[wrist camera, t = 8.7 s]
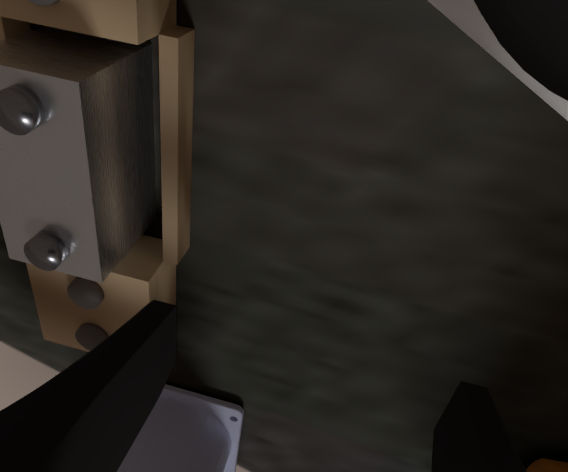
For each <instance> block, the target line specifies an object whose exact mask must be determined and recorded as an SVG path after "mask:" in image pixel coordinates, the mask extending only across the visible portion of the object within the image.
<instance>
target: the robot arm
mask: <svg viewBox="0 0 568 472" xmlns="http://www.w3.org/2000/svg"><path fill="white" fill-rule="evenodd" d="M176 336H177V306H176V305H173V304H169V303H165V302H161V301H158V300H153V301H151V302H149V303H148V304H147V305H146V306H145V307H143V308H142V309H141V310H140V311H139V312H138V313H136V314H135V315H134V316H133V317H132V318H131V319H129V320H128V321H127V322H126V323H125V324H123V325H122V326H121V327H120V328H119V329H117V330H116V331H115V332H114V333H112V334H111V335H110V336H109V337H107V338H106V339H105V340H104V341H102V342H101V343H100V344H98V345H97V346H96V347H95V348H93V349H92V350H91V351H89V352H88V353H87V354H86V355H84V356H83V357H82V358H80V359H79V360H78V361H76V362H75V363H73V364H72V365H70V366H69V367H68V368H66V369H65V370H63V371H62V372H61V373H59V374H58V375H56V376H55V377H53V378H52V379H51V380H49V381H48V382H46V383H45V384H43V385H42V386H40V387H39V388H37V389H36V390H34V391H33V392H31V393H29V394H28V395H26V396H24V397H23V398H21V399H20V400H18V401H16V402H15V403H13V404H11V405H10V406H8V407H6V408H5V409H3V410H1V411H0V472H235V471H236V464H237V457H238V450H239V443H240V436H241V428H242V421H243V414H244V410H243V408H242V407H241V406H239V405H237V404H233V403H230V402H226V401H223V400H219V399H216V398H212V397H209V396H205V395H202V394H198V393H195V392H191V391H188V390H184V389H181V388H177V387H174V386H170V385H167V384H166V382H167V379H168V377H169V375H170V372H171V370H172V368H173V365H174V363H175V360H176ZM432 472H527V471H526V469H525V467H524V465H523V463H522V461H521V459H520V457H519V455H518V453H517V451H516V449H515V447H514V445H513V443H512V441H511V439H510V436H509V434H508V432H507V430H506V428H505V426H504V424H503V421H502V419H501V417H500V415H499V412H498V410H497V408H496V406H495V404H494V401H493V399H492V397H491V395H490V392H489V391H488V389H487V388H485V387H481V386H477V385H473V384H470V383H466V382H462V381H461V382H460V384H459V386H458V388H457V389H456V391H455V393H454V395H453V397H452V398H451V400H450V402H449V404H448V406H447V407H446V409H445V411H444V413H443V414H442V416H441V418H440V420H439V422H438V423H437V425H436V427H435V429H434V437H433V452H432Z"/></svg>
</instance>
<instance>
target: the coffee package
mask: <svg viewBox="0 0 568 472" xmlns="http://www.w3.org/2000/svg"><path fill="white" fill-rule="evenodd" d="M526 471H527V472H568V462H561V461H555V460H550V459H546V458H541V459H538V460H536V461H534V462H533V463H532V464H531V465H530V466H529V467H528V468H527V469H526Z"/></svg>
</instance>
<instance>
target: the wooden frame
mask: <svg viewBox="0 0 568 472" xmlns="http://www.w3.org/2000/svg"><path fill="white" fill-rule="evenodd" d="M30 23H35V24H40V25H44V26H49V27H54V28H59V29H63V30H68V31H73V32H78V33H83V34H87V35H92V36H97V37H102V38H107V39H111V40H116V41H121V42H126V43H130V44H135V45H139V44H141V43H143V42H145V41H147V40H149V39H151V38H153V37H155V36H157V35H159V76H160V128H161V181H162V233H163V240H162V239H158V238H154V237H151V236H147V235H142V236H141V237H140V238H139V239H138V241H137V242H136V243H135V244H134V245H133V247H132V248H131V249H130V250H129V251H128V253H127V254H126V255H125V256H124V257H123V259H122V260H121V261H120V262H119V263H118V265H117V266H116V267H115V268H114V270H113V271H112V272H111V273H110V274H109V276H108V277H107V278H106V279H105V280H104V282H103V283H99V282H96V281H92V280H88V279H85V278H81V277H77V276H73V275H70V274H66V273H62V272H58V271H55V270H53V271H44V270H41V269H39V268H37V267H36V266H34V265H32V264H28V263H26V265H27V269H28V274H29V278H30V282H31V286H32V291H33V295H34V299H35V303H36V308H37V312H38V316H39V320H40V324H41V329H42V333H43V337H44V339H45V340H48V341H52V342H55V343H59V344H62V345H66V346H69V347H73V348H77V349H80V350H84V351H87V352H89V351H91V350H92V349H93V348H95V347H96V346H97V345H98V344H100V343H101V342H102V341H104V340H105V339H106V338H107V337H109V336H110V335H111V334H112V333H114V332H115V331H116V330H117V329H119V328H120V327H121V326H122V325H123V324H125V323H126V322H127V321H128V320H129V319H131V318H132V317H133V316H134V315H135V314H136V313H138V312H139V311H140V310H141V309H142V308H143V307H145V306H146V305H147V304H148V303H149V302H151V301H153V300H158V301H161V302H165V303H169V304H173V305H176V265H178V264H179V262H180V260H181V259H182V257H183V256H184V254H185V253H186V251H187V250H188V248H189V247H190V215H191V171H192V126H193V82H194V38H195V29H192V28H187V27H182V26H177V25H176V0H0V41H2V40H5V39H8V38H11V37H14V36H17V35H20V34H23V33H26V32H29V31H32V30H31V24H30Z"/></svg>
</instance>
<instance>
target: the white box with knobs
mask: <svg viewBox="0 0 568 472" xmlns="http://www.w3.org/2000/svg"><path fill="white" fill-rule="evenodd" d="M155 219H156V188H155V150H154V113H153V75H152V43H147V42H143V43H141V44H139V45H135V44H130V43H126V42H121V41H116V40H111V39H107V38H102V37H97V36H92V35H87V34H83V33H78V32H73V31H68V30H63V29H59V28H54V27H49V26H44V27H41V28H38V29H35V30H32V31H29V32H26V33H23V34H20V35H17V36H14V37H11V38H8V39H5V40H2V41H0V223H1V227H2V231H3V235H4V239H5V242H6V246H7V250H8V254H9V258H10V259H14V260H17V261H21V262H25V263H28V264H32V265H34V266H36V267H37V268H39V269H41V270H44V271H53V270H55V271H58V272H62V273H66V274H70V275H73V276H77V277H81V278H85V279H88V280H92V281H96V282H99V283H103V282H104V280H105V279H106V278H107V277H108V276H109V274H110V273H111V272H112V271H113V270H114V268H115V267H116V266H117V265H118V263H119V262H120V261H121V260H122V259H123V257H124V256H125V255H126V254H127V253H128V251H129V250H130V249H131V248H132V247H133V245H134V244H135V243H136V242H137V241H138V239H139V238H140V237H141V236H142V235H143V233H144V232H145V231H146V230H147V228H148V227H149V226H150V225H151V224H152V222H153V221H154V220H155Z"/></svg>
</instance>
